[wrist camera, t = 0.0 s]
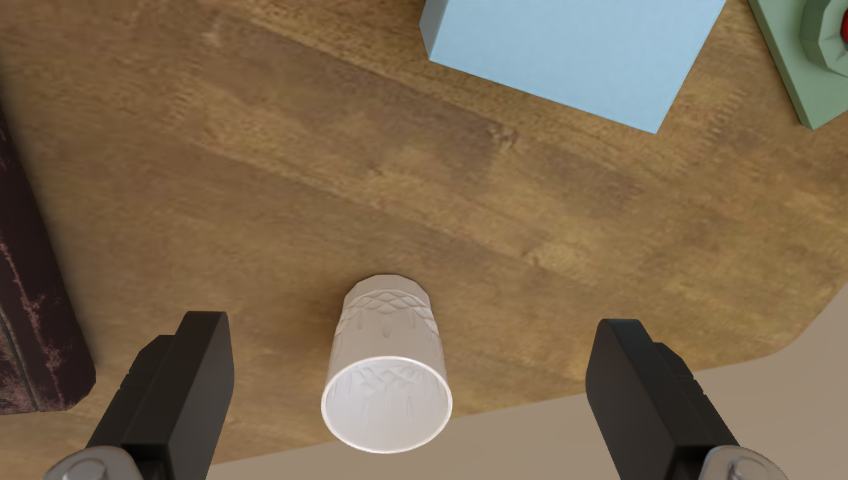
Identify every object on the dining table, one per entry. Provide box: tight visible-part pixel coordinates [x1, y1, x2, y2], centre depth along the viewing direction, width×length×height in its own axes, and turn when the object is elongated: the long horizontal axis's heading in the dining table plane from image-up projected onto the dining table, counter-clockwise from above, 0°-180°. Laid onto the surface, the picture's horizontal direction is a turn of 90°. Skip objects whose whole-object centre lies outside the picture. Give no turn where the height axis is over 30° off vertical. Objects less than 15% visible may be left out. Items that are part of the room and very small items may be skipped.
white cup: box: [321, 275, 452, 454], centre depth 40 cm, size 8×8×10 cm
